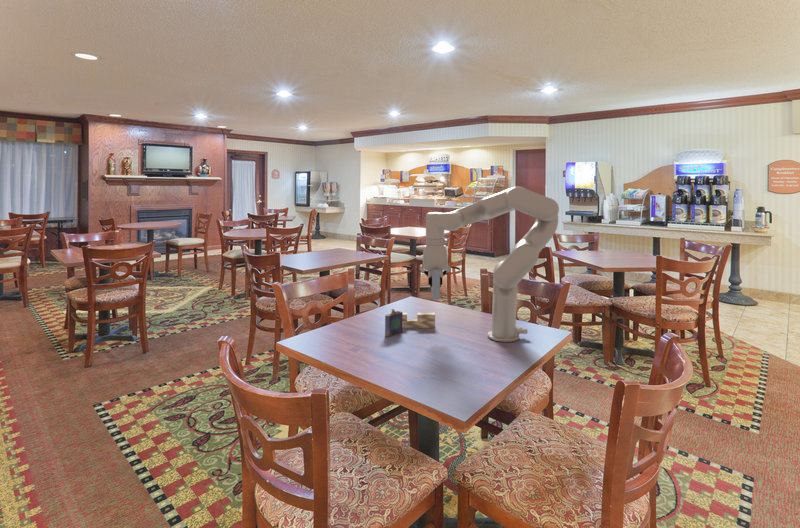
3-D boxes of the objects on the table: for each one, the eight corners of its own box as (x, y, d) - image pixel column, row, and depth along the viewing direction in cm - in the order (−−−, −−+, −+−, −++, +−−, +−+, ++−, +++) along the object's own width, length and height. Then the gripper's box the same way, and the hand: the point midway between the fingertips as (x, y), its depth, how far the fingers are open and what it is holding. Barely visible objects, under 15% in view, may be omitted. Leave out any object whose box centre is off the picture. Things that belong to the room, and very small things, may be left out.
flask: (387, 337, 182) (387, 312, 180) (382, 335, 184) (382, 310, 182) (403, 332, 188) (403, 307, 186) (398, 330, 190) (398, 306, 188)
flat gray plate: (431, 293, 190) (430, 266, 188) (438, 293, 190) (437, 266, 188) (432, 299, 180) (432, 270, 178) (440, 299, 180) (439, 270, 178)
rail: (434, 325, 197) (434, 312, 196) (435, 327, 194) (435, 314, 193) (389, 325, 197) (389, 312, 196) (389, 327, 194) (389, 314, 193)
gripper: (454, 241, 185) (454, 284, 188) (414, 241, 185) (415, 284, 188) (456, 243, 178) (456, 288, 181) (415, 244, 178) (416, 288, 181)
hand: (435, 286), depth 184 cm, fingers closed on flat gray plate, 3 cm apart
